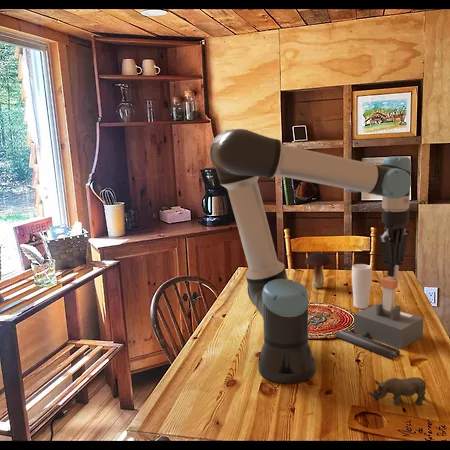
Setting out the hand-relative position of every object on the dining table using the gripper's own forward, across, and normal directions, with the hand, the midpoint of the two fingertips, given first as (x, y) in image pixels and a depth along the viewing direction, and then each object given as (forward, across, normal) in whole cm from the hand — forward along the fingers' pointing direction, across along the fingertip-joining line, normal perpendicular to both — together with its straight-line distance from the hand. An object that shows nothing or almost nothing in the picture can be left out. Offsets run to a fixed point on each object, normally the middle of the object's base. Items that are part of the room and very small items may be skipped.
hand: (392, 285), depth 136 cm
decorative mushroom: (+15, +16, +43) cm, 48 cm away
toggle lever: (+8, -2, 0) cm, 8 cm away
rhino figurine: (+16, -32, -21) cm, 41 cm away
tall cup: (+15, +11, +19) cm, 27 cm away
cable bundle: (+15, -11, 0) cm, 19 cm away
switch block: (+15, -2, 0) cm, 15 cm away
